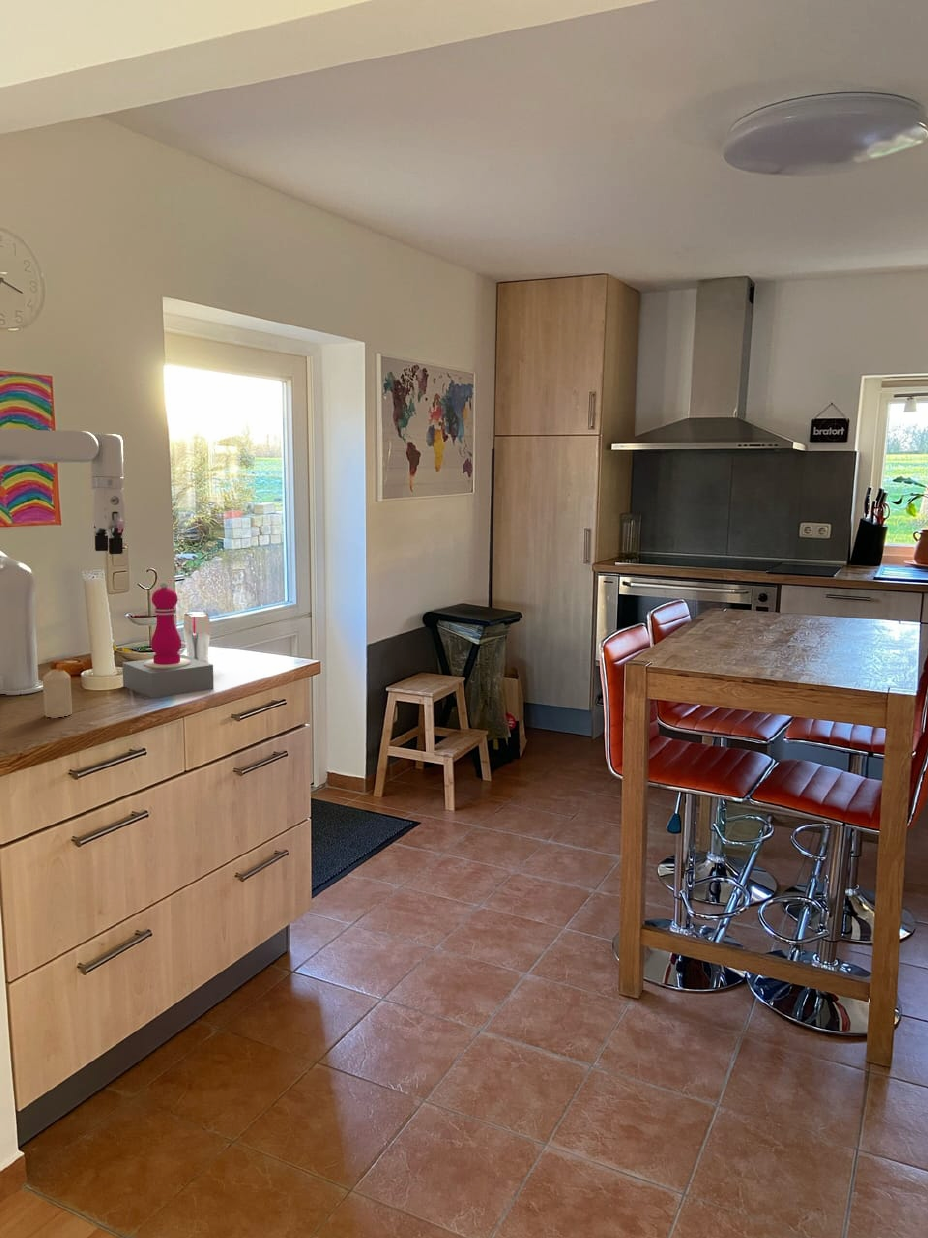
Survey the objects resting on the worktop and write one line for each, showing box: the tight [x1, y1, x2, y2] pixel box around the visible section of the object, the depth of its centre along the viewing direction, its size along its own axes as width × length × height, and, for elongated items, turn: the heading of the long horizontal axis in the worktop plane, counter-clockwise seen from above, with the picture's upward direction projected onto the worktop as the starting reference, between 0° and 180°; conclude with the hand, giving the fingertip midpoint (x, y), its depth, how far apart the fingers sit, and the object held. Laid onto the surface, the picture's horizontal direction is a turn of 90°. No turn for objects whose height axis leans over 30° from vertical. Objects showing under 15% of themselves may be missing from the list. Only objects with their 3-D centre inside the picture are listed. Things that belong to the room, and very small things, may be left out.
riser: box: [121, 654, 215, 699], centre depth 224 cm, size 16×16×6 cm
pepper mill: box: [150, 581, 182, 665], centre depth 222 cm, size 7×7×20 cm
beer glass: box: [182, 612, 211, 663], centre depth 245 cm, size 7×7×15 cm
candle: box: [42, 668, 73, 719], centre depth 196 cm, size 6×6×10 cm
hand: (108, 552), depth 228 cm, fingers open, 9 cm apart
